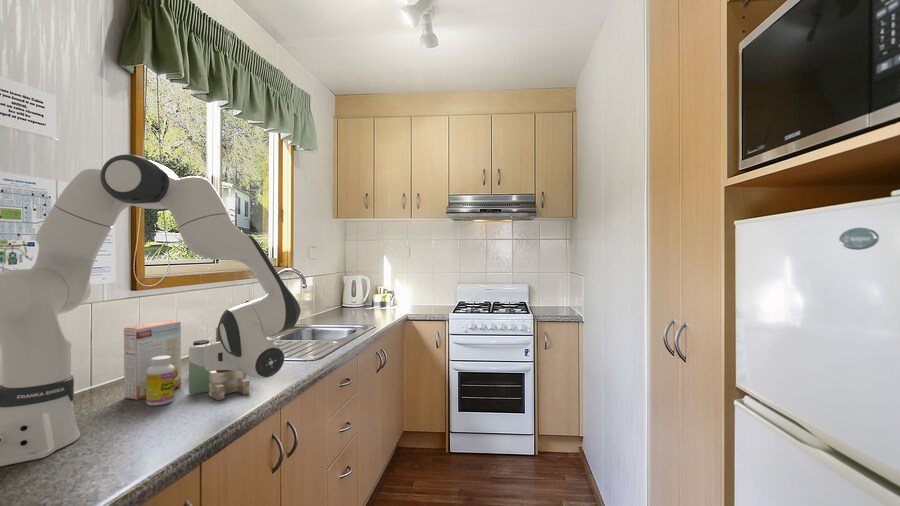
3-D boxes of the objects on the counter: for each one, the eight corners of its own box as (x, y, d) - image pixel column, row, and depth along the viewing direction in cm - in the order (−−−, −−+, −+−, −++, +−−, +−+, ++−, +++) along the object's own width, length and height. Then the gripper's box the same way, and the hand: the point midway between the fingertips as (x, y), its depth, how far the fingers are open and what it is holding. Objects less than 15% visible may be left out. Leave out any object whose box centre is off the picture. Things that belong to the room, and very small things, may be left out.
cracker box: (168, 384, 139) (168, 320, 139) (181, 386, 137) (182, 321, 137) (122, 398, 125) (123, 326, 125) (136, 400, 123) (137, 328, 123)
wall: (190, 394, 129) (191, 358, 129) (188, 393, 130) (189, 357, 130) (245, 383, 140) (245, 349, 140) (243, 382, 142) (243, 348, 142)
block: (217, 400, 123) (217, 376, 123) (208, 394, 128) (209, 371, 128) (249, 393, 130) (249, 370, 130) (240, 388, 135) (240, 365, 135)
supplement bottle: (160, 407, 118) (160, 360, 118) (140, 405, 119) (140, 359, 120) (180, 399, 125) (180, 355, 125) (160, 397, 126) (161, 354, 126)
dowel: (219, 373, 116) (219, 328, 116) (213, 370, 118) (213, 327, 118) (234, 370, 119) (234, 327, 119) (229, 368, 121) (229, 325, 121)
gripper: (282, 334, 117) (260, 328, 127) (199, 346, 102) (182, 338, 112) (282, 357, 117) (260, 350, 127) (199, 372, 102) (181, 362, 112)
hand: (223, 344), depth 119 cm, fingers closed on dowel, 4 cm apart
